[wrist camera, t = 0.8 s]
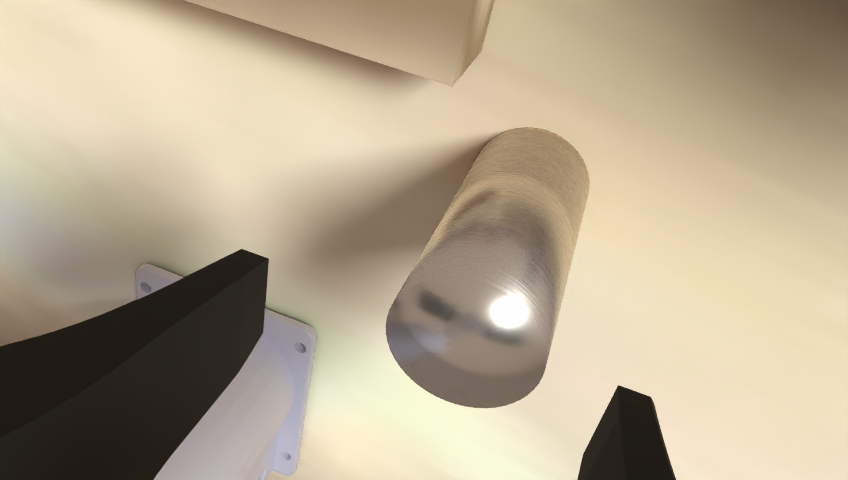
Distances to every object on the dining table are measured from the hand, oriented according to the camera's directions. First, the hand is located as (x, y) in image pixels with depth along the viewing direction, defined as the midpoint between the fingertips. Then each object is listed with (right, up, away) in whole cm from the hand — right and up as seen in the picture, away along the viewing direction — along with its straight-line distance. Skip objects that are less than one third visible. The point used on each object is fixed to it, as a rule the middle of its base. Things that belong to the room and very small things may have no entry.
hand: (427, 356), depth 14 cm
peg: (+3, +4, +8) cm, 9 cm away
